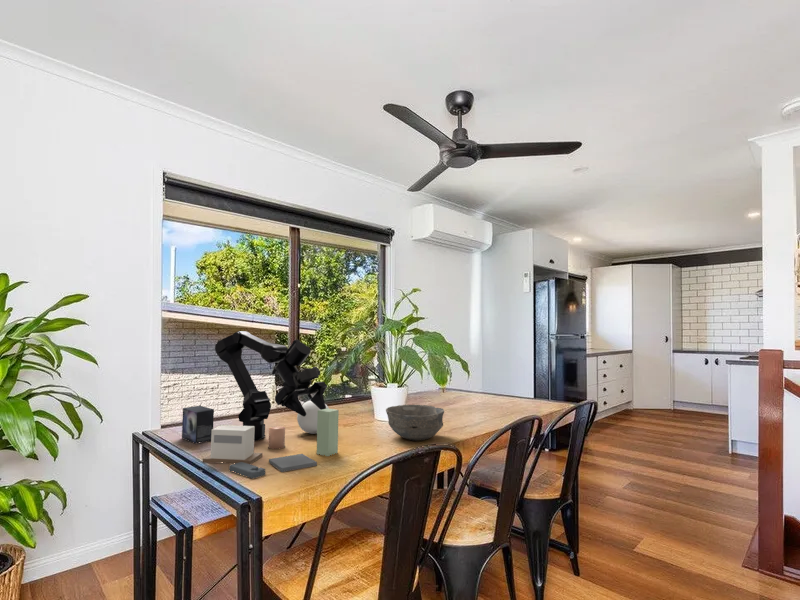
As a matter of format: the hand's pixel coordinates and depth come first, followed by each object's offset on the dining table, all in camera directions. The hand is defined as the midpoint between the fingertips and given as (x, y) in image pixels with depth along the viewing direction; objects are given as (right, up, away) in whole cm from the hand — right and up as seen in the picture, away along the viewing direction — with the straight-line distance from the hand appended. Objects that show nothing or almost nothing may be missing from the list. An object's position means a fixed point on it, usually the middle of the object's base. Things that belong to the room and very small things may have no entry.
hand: (315, 413), depth 138 cm
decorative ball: (-5, -13, +23) cm, 27 cm away
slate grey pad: (-4, -10, -15) cm, 18 cm away
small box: (-43, -12, +12) cm, 46 cm away
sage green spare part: (+4, -11, -3) cm, 13 cm away
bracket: (-14, -10, -22) cm, 28 cm away
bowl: (+32, -13, +18) cm, 39 cm away
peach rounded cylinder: (-13, -12, +3) cm, 18 cm away
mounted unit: (-22, -10, -11) cm, 26 cm away
